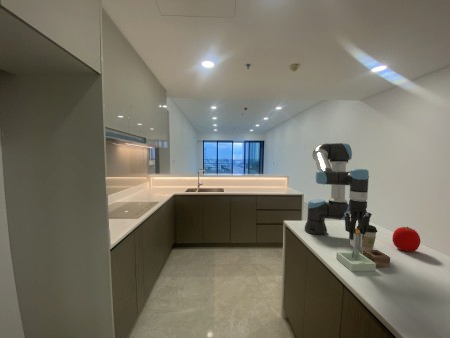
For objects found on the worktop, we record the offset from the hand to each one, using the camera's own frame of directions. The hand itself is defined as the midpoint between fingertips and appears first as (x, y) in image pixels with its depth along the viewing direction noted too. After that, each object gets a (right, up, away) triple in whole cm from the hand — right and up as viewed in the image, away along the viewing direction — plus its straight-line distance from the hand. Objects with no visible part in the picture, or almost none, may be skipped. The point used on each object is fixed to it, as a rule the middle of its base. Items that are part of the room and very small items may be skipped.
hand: (355, 245), depth 100 cm
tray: (0, -10, +1) cm, 10 cm away
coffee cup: (+16, -9, +15) cm, 24 cm away
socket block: (+12, -10, +2) cm, 16 cm away
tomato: (+41, -10, +18) cm, 46 cm away
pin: (0, -7, 0) cm, 7 cm away
